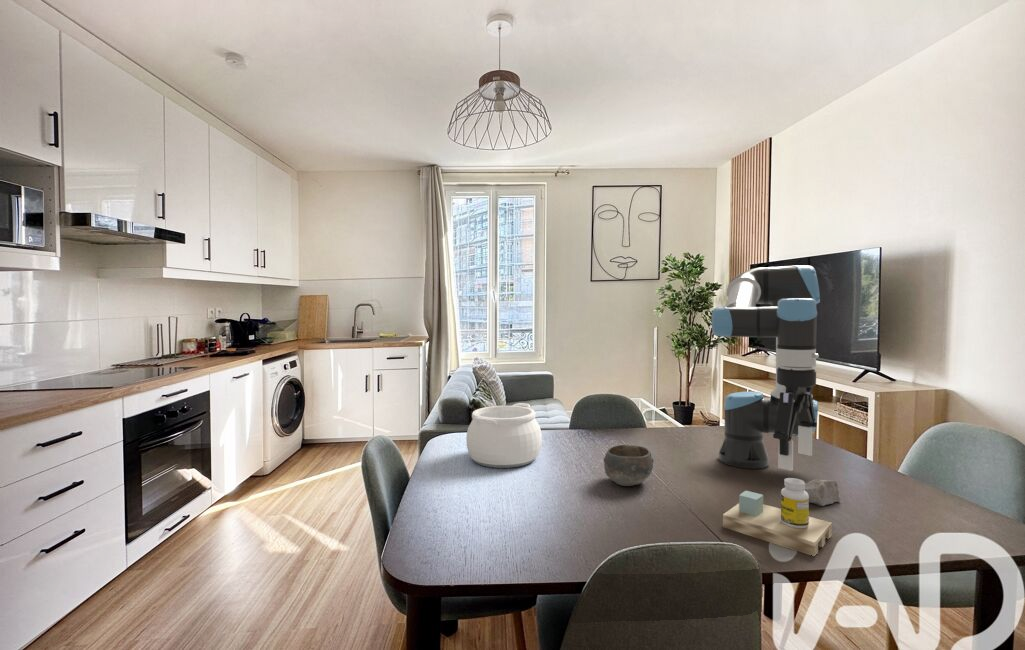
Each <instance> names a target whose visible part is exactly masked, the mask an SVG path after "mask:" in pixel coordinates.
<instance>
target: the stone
mask: <svg viewBox="0 0 1025 650" xmlns="http://www.w3.org/2000/svg"><path fill="white" fill-rule="evenodd" d="M804 490H805V491H806V492H807V493H808V495H809V504H814V505H817V506H820V507H825V506H827V505H833V504H834V503H838V502H839V503H840V501H841V496H840V492H839V487H838V482H837V480H834V479H833V480H829V479H811V480H809V481H808V482H805V489H804Z"/></svg>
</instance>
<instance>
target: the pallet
mask: <svg viewBox="0 0 1025 650" xmlns="http://www.w3.org/2000/svg"><path fill="white" fill-rule="evenodd" d="M722 528H724V529H728V530H730V531H733V532H736V533H741V534H743V535H746V536H749V537H753V538H755V539H758V540H762V541H765V542H768V543H771V544H774V545H777V546H781V547H784V548H787V549H790V550H792V549H793V551H795V550H796V552H798V551H799V553H802V554H805V555H808V556H811V555H812V556H811V557H814V556H815V555H816V554H817V555H818V553H819V548H821V547H822V548H824V546H825V545H826V540H830V539H829V538H831V537H832V536H833V534H832V533H833V523H832V522H831V521H826V520H823V519H819V518H816V517H812V516H809V525H808V527H806V528H793V527H790V526H787V525H785V524H784V523H783V522H782V521H781V508H778V507H776V506H771V505H767V504H764V503H763V512H762V513H761V514H759V515H758V516H753V515H750V514H746V513H743V512H739V502H738V503H737V504H736V505H734V506H732V508H730V509H729V510H727V511H726V512H724V513H722ZM826 538H827V539H826ZM818 546H819V547H818ZM817 555H816V556H817ZM816 556H815V557H816Z"/></svg>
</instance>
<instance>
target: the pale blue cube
mask: <svg viewBox="0 0 1025 650" xmlns="http://www.w3.org/2000/svg"><path fill="white" fill-rule="evenodd" d="M738 497H739V498H738V501H739V502H738V503H739V512H743V513H746V514H750V515H753V516H758V515H759V514H761V513H762V512H763V504H764V494H762V493H758V492H754V491H753V492H752V491H750V490H744V491H743V492H742V493H740V494H739V495H738Z"/></svg>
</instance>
